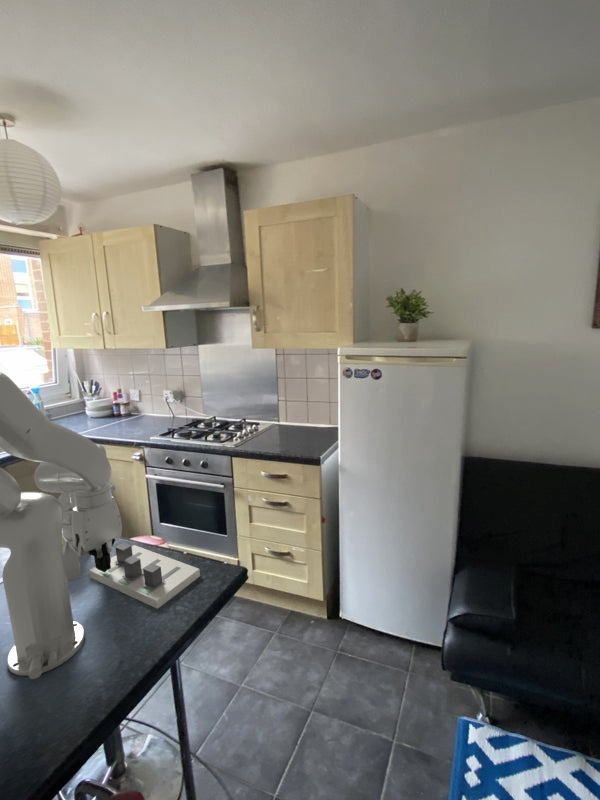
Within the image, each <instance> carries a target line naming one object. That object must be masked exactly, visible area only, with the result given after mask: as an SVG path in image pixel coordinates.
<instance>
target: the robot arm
mask: <svg viewBox="0 0 600 800" xmlns="http://www.w3.org/2000/svg"><path fill="white" fill-rule="evenodd" d="M0 448H1V450H3V451H4V452H5V453H6V454H8V455H10V456H13V457H17V458H20V459H23V460H27V461H32V462H36V463H39V465H38V466H37V467H36V469H35V471H34V475H33V481H34V483H35V485H36V487H37V489H39V490H40V491H43V492H39V491H21V488H20V485H19V482H17V480H16V478H15V477H13V476H12V474H10V472H8V471H6V470H5V469H3V468H2V467H0V549H1V548H2V549H3V548H4V549H9V551H10V555H9V557H8V559H7V560H6V562H5V564H4V566H3V569H2V576H1V577H2V584H3V587H4V593H5V598H6V604H7V610H8V613H9V620H10V625H11V629H12V636H13V641H14V644H13V646H12V648H10V650H9V652H8V655H7V658H6V663H7V667H8V670H9V671H10V672H11V673H12V674H15V675H17V676H21V677H27V676H28V678H29V679H30V680H35V679H38V678H39V677H41V675H42V674H43V673H46V672H49V671H51V670H54V669H55V668H57V667H59V666H61V665H62V664H64V663H65V662H67V661H68V660H70V658H72V657H73V656H74V655H75V654H77V652H78V651H79V650H80V649H81V647H82V645H83V643H84V642H85V637H86V635H85V629H84V626H83V625H82V624H81V623H80V622H78V621H74V618H73V609H72V603H71V597H70V591H69V586H68V582H67V577H66V571H65V565H64V558H63V550H62V534H63V533H62V525H63V508H62V505H61V503H60V502H59V500H58V498H56V497H55V496H54V495H52V494H49V493H53V494H54V493H57V494H59V493H60V494H61V493H66V492H74V494H75V501H76V507H74V508H73V511H72V540H73V545H74V547H76V548H77V547H78V552H77V555H78V556H79V558H85V557H89V556H93V558H94V565H95V567H96V568H97V569H98V570H100V571H103V572H106V571H107V570H109V569H111V565H110V563H111V559H110V558H111V552H112V549H113V546H114V545H115V542H116V541H117V540H119V539H120V538H121V537H122V533H123V532H122V531H123V527H122V526H123V525H122V524H123V523H122V518H121V514H120V509H119V507H118V504H117V501H116V499H115V497H114V496H113V491H115V490H116V487H115V485H114V484H111V478H112V467H111V463H110V461H109V460H108V459H109V458H108V457H107V451H106V448H105V447H104V446H103V445H102V444H100V443H99V444H98V443H95V442H94V441H92V440H91V439H89V438H88V437H86V436H84V435H83V434H80V433H78V432H76V431H73V430H72V429H71V428H70V429H69V428H68V427H66V426H63V425H61V424H59V423H56V422H54V421H51V420H50V419H49V418H47V417H46V415H44V414H43V412H42V411H41V410H40V409H39V408H38V407H37V406H36V405H35V404H34V403H33V402H32V401H31V400H30V398H29V397H28V396H27V395H26V394H25V392H23V391H22V389H20V387H19V386H18V385H17V384H16V383H15V382H14V381H13V379H11V378H10V377H9V376H8V375H6V374H5V373H3V372H2V371H0Z"/></svg>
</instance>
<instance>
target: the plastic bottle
mask: <svg viewBox="0 0 600 800" xmlns="http://www.w3.org/2000/svg"><path fill="white" fill-rule="evenodd" d="M57 499H58V500H59V502H60V503H61V505H62V508H63V525H62V534H63V535H64V537H65V538H66V539H67V540H68V541H69V542H70V544H71V545H72V546H73V548H74V549H75V551H76V552H78V547H77V548H76V547H74V545H73V540H72V511H73V508H74V507H76V501H75V494H74V492H66V493H60V495H59V497H58V498H57Z"/></svg>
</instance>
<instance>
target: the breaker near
mask: <svg viewBox="0 0 600 800" xmlns="http://www.w3.org/2000/svg"><path fill="white" fill-rule="evenodd" d="M143 572H144V580H145V583H144V584H143V585H142V586H144V587H146V588H148V589H151V590H154V589H156V588H157V587H158V586H160V585H161V584H163V583H164V582H165V580H162V574H161V567H160V566H157V565H155V564H150V565H148V566H147V567H145V568H144V569H143Z"/></svg>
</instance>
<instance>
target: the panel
mask: <svg viewBox="0 0 600 800" xmlns="http://www.w3.org/2000/svg"><path fill="white" fill-rule="evenodd" d="M131 546H132V554H133V556H134V557H137V558H139V559H140V562H141V570H142V571H143V569H144V568H145V567H147V566H148V565H150V564H155V565H157V566H160V567H161V574H162V580H165V582H164V583H163V584H161V585H160V586H158V587H157V588H156V589H154V590H151V589H148V588H146V587H144V586H142V585H143V584H144V583H145V580H144V574H143V575H141V576H140V577H138V578H137V579H135V580H134V581H130V580H128V579H125V578H123V577H122V576H123V575H125V571H124V567H123V566H121V565H119V564H116V563H114V562H115V561H117V556H116V555H114V556H111V557H110V559H111V563H110V565H111V569H109V570H107V571H106V572H103V571H100V570H98V569H97V568H96V566H95V567H93V568H91V569H89V578H91V579H92V580H95V581H97V582H99V583H101V584H102V585H105V586H107V587H110V588H111V589H114V590H117V591H118V592H120V593H123V594H124V595H127V596H129V597H131V598H134V599H136V600H138V601H140V602H142V603H144V604H146V605H149V606H151V607H153V608H155V609H157V610H158V609H159V608H161V607H163V605H164V604H166V603H167V602H169V600H171V599H172V598H174V597H175V596H176V595H178V594H179V593H181V592H182V591H183V590H185V589H186V588H187V587H188V586H189V585H190V584H192V583H194V581H196V580H197V579H198V578H199V577H201V572H200V568H198V567H195V566H193V565H190V564H187V563H184V562H182V561H179V560H176V559H174V558H172V557H171V558H170V557H168V556H165V555H163V554H160V553H158V552H157V553H156V552H154V551H153V550H152V551H151V550H149V549H146V548H143V547H141V546H138V545H136V544H133V545H131Z"/></svg>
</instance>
